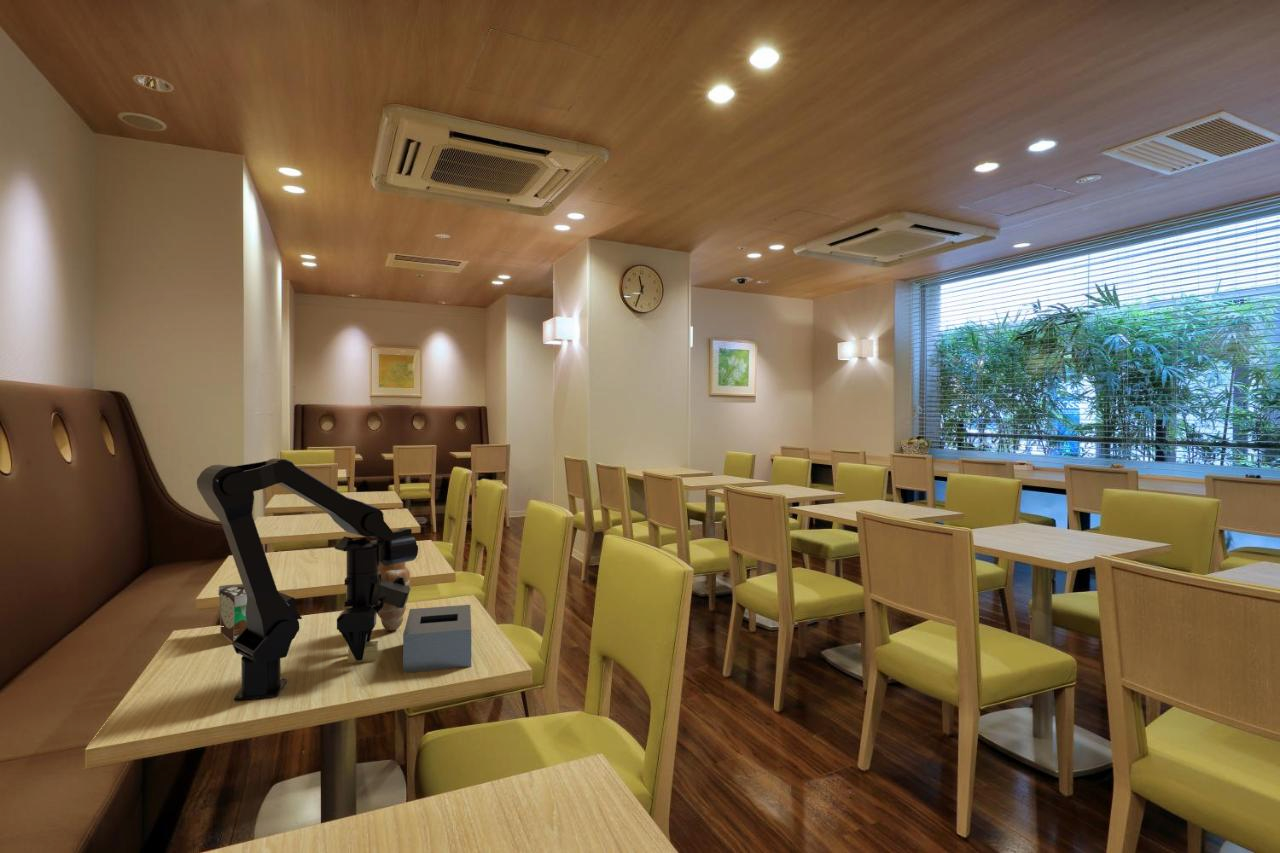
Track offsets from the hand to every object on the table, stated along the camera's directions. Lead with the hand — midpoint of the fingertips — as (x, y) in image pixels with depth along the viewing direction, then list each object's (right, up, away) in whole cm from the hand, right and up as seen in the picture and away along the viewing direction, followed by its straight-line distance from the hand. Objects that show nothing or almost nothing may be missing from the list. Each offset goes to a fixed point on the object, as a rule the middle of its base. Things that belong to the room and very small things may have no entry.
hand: (363, 651), depth 123 cm
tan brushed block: (0, -2, 0) cm, 2 cm away
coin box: (+14, -2, +3) cm, 14 cm away
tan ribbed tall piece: (-1, -1, +16) cm, 16 cm away
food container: (-31, -1, +13) cm, 34 cm away
